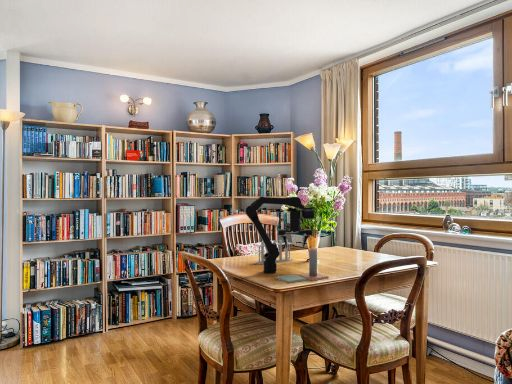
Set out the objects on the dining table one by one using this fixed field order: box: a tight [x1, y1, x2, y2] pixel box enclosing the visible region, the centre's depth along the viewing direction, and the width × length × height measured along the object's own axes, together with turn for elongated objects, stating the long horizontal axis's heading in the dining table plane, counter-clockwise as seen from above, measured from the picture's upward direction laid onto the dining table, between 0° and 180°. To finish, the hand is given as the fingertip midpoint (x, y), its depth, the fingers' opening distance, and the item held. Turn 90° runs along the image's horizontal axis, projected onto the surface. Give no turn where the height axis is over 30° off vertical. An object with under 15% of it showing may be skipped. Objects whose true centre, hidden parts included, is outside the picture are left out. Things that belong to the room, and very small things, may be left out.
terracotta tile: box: [297, 272, 330, 282], centre depth 204 cm, size 11×11×1 cm
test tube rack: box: [255, 239, 294, 265], centre depth 247 cm, size 25×4×13 cm, turn 120°
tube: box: [308, 247, 318, 276], centre depth 204 cm, size 4×4×14 cm
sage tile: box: [275, 274, 307, 284], centre depth 199 cm, size 11×11×1 cm
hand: (294, 247), depth 218 cm, fingers open, 9 cm apart
